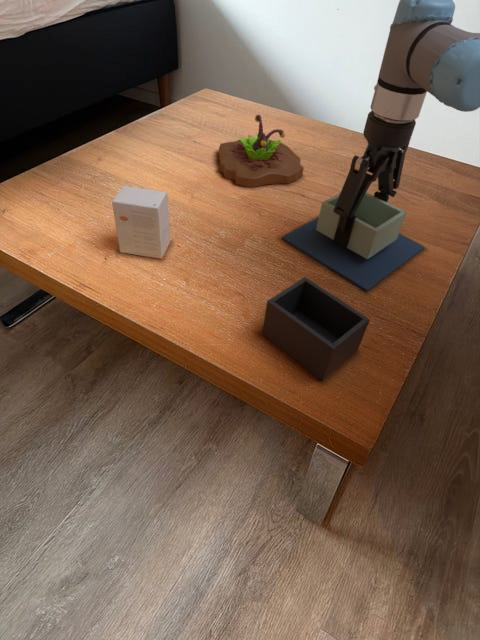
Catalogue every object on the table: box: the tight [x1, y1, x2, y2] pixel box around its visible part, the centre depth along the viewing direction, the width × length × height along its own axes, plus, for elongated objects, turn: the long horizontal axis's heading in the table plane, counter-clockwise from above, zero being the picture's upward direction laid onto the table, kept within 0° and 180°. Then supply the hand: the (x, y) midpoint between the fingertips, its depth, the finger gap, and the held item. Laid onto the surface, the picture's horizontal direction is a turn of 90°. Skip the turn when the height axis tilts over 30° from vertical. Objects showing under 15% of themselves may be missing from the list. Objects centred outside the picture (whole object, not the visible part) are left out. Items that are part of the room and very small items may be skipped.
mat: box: [281, 216, 425, 293], centre depth 88 cm, size 20×20×1 cm
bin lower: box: [261, 276, 371, 382], centre depth 66 cm, size 12×8×7 cm
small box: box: [111, 185, 171, 260], centre depth 79 cm, size 8×6×10 cm
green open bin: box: [316, 191, 408, 259], centre depth 85 cm, size 12×10×6 cm
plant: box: [218, 114, 305, 188], centre depth 104 cm, size 20×20×11 cm
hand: (356, 233), depth 86 cm, fingers closed on green open bin, 10 cm apart
